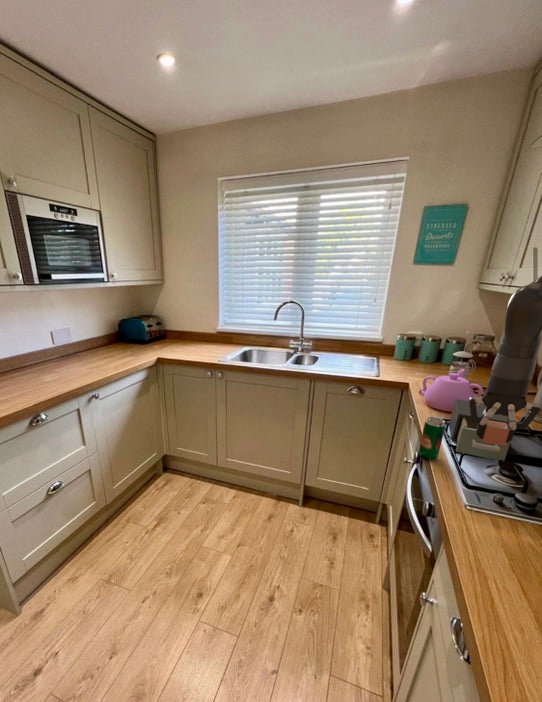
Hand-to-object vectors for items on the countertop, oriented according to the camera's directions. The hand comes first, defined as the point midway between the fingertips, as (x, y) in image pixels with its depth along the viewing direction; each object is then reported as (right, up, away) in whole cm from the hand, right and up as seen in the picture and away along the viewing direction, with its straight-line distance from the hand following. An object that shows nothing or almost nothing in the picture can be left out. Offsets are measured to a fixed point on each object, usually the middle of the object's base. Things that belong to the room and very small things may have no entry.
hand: (492, 439), depth 83 cm
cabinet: (+14, -2, +26) cm, 30 cm away
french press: (+46, +18, +79) cm, 93 cm away
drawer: (+8, -5, +16) cm, 19 cm away
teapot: (+23, +8, +52) cm, 57 cm away
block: (0, 0, 0) cm, 0 cm away
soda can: (-8, -7, +14) cm, 18 cm away
